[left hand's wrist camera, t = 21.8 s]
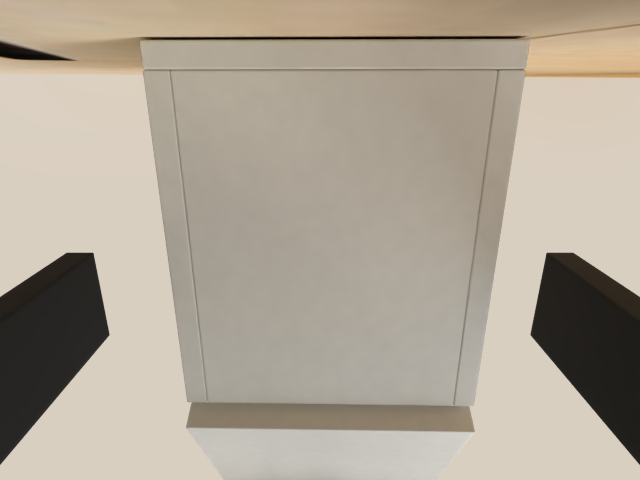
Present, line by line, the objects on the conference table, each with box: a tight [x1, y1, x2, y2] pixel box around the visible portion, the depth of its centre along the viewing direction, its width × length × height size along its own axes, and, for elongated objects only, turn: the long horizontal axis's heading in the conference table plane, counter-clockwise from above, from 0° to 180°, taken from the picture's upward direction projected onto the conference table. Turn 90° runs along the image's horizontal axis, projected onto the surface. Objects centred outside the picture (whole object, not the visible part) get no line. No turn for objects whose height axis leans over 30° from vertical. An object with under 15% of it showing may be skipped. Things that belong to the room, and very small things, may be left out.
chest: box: [139, 39, 530, 406], centre depth 20 cm, size 15×10×11 cm, turn 1°
